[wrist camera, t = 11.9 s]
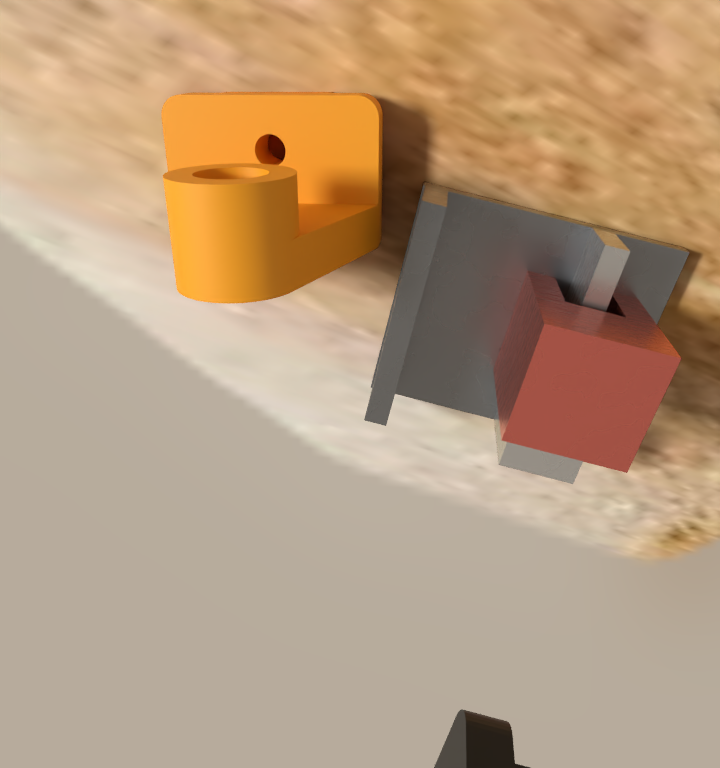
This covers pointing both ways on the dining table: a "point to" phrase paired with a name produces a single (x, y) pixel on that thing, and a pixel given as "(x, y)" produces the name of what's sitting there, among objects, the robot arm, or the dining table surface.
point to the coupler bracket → (498, 300)
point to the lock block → (580, 375)
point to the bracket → (269, 189)
